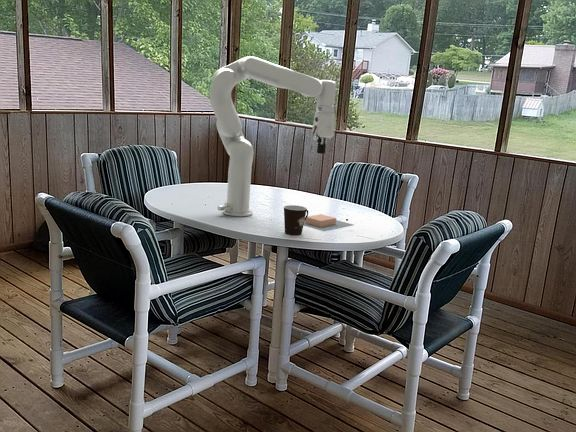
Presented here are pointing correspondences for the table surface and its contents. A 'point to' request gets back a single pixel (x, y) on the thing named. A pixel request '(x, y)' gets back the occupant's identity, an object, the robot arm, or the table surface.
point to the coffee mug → (294, 219)
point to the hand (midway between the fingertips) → (320, 153)
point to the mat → (329, 226)
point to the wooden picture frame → (320, 220)
